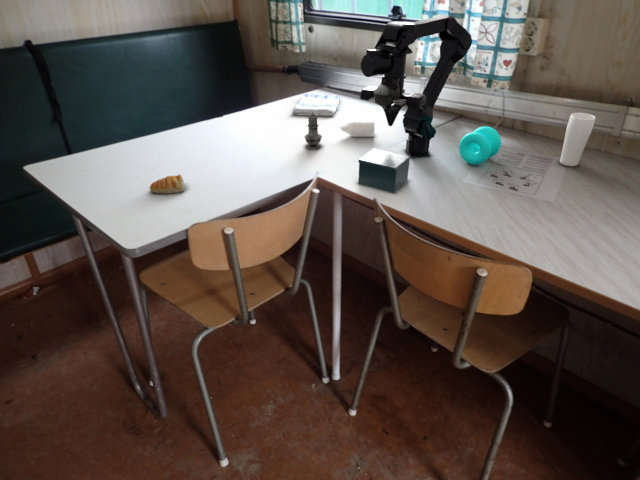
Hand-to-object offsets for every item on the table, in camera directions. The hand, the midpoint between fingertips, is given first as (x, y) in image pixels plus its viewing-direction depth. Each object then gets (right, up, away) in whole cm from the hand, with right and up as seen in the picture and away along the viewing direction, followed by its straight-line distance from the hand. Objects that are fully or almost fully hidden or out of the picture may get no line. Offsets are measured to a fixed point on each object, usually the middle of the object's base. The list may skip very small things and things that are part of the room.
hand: (390, 125), depth 138 cm
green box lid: (-3, -12, -9) cm, 15 cm away
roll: (-8, +3, +27) cm, 28 cm away
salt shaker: (-23, -3, +19) cm, 30 cm away
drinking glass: (+56, -11, +5) cm, 57 cm away
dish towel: (-22, +22, +56) cm, 64 cm away
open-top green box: (-3, -18, -5) cm, 19 cm away
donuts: (+29, -9, +7) cm, 31 cm away
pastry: (-64, -20, -7) cm, 67 cm away
